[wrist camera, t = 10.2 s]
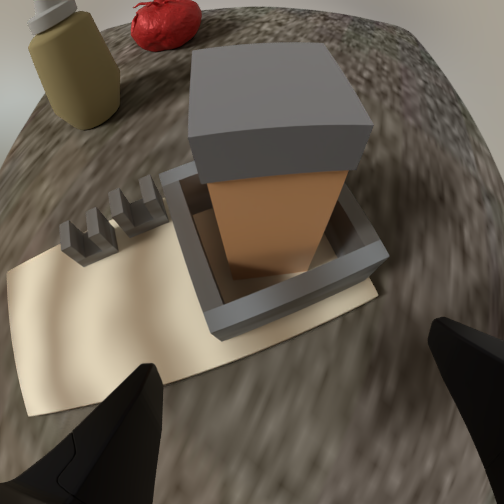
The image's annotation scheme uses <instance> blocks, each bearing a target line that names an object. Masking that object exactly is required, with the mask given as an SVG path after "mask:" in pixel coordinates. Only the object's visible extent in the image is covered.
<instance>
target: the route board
mask: <svg viewBox="0 0 504 504" xmlns="http://www.w3.org/2000/svg"><path fill="white" fill-rule="evenodd" d="M159 177H160V181H161V184H162V188H163V191H164V195H165V198H163V199H162V197H161V195H160V193H159V191H158V189H157V187H156V185H155V183H154V181H153V179H152V177H151V175H148V176H145V177H143V178H140V179H139V184H140V188H141V193H142V197H143V199H140V200H138V201H135V202H133V203H131V204H130V203H129V202H128V200H127V199H126V197H125V196H124V194H123V193H122V191H121V190H120V188H117V189H115V190H113V191H110V192H108V195H109V202H110V209H111V215H112V218H113V220H110V221H108V220H107V219H106V218H105V217H104V216H103V214H102V213H101V212H100V211H99V210H98V209H97V207H95V208H93V209H90V210H88V211H86V220H87V229H88V231H86V232H84V233H82V232H81V231H80V230H79V229H77V228H76V227H75V226H74V225H73V224H72V223H71V222H70V221H69V220H68V221H66V222H64V223H62V224H60V225H59V227H60V244H59V245H57V246H55V247H53V248H51V249H49V250H47V251H45V252H43V253H41V254H40V255H38V256H36V257H34V258H32V259H30V260H28V261H26V262H24V263H23V264H21V265H19V266H17V267H15V268H14V269H12V270H10V271H8V272H7V293H8V309H9V320H10V329H11V337H12V344H13V350H14V357H15V362H16V367H17V373H18V377H19V382H20V386H21V391H22V395H23V399H24V402H25V406H26V410H27V413H28V416H38V415H44V414H50V413H55V412H60V411H65V410H70V409H75V408H80V407H84V406H89V405H93V404H97V403H101V402H102V401H103V400H104V399H105V398H106V397H107V396H108V395H109V394H110V393H111V392H112V391H114V390H115V389H116V388H117V387H118V386H119V385H120V384H121V383H122V382H123V381H124V380H125V379H126V378H127V377H128V376H129V375H130V374H131V373H132V372H133V371H134V370H135V369H136V368H137V367H138V366H139V365H140V364H142V363H154V364H155V365H156V367H157V370H158V372H159V374H160V377H161V379H162V382H163V385H166V384H169V383H173V382H176V381H179V380H182V379H185V378H188V377H191V376H194V375H197V374H200V373H203V372H206V371H209V370H211V369H214V368H217V367H220V366H223V365H225V364H228V363H231V362H233V361H236V360H239V359H241V358H244V357H246V356H249V355H252V354H254V353H257V352H259V351H262V350H264V349H266V348H269V347H271V346H274V345H276V344H279V343H281V342H283V341H286V340H288V339H290V338H293V337H295V336H297V335H299V334H302V333H304V332H306V331H308V330H311V329H313V328H315V327H317V326H319V325H322V324H324V323H326V322H328V321H330V320H332V319H334V318H336V317H338V316H341V315H343V314H345V313H347V312H349V311H351V310H353V309H355V308H357V307H359V306H361V305H363V304H365V303H367V302H369V301H371V300H372V299H374V298H375V297H377V296H378V293H377V291H376V289H375V287H374V285H373V284H372V282H371V280H370V278H369V276H370V275H371V274H372V273H373V272H374V271H375V270H376V269H377V268H378V267H379V266H380V265H381V264H382V263H383V262H384V261H385V260H386V259H387V258H388V257H389V254H388V252H387V250H386V249H385V247H384V245H383V243H382V242H381V240H380V238H379V236H378V235H377V233H376V231H375V229H374V228H373V226H372V224H371V223H370V221H369V219H368V218H367V216H366V214H365V213H364V211H363V210H362V208H361V206H360V205H359V203H358V202H357V200H356V198H355V197H354V195H353V194H352V192H351V191H350V189H349V188H348V186H347V185H346V183H345V182H344V184H343V187H342V189H341V192H340V194H339V197H338V199H337V202H336V204H335V207H334V209H333V212H332V214H331V216H330V219H329V221H328V224H327V226H326V228H325V231H324V233H323V236H322V238H321V240H320V243H319V245H318V247H317V250H316V252H315V254H314V256H313V259H312V261H311V263H310V266H309V268H308V270H307V271H305V272H297V273H289V274H282V275H274V276H266V277H258V278H249V279H241V280H233V278H232V274H231V270H230V267H229V263H228V260H227V256H226V253H225V249H224V245H223V242H222V238H221V234H220V231H219V227H218V223H217V220H216V216H215V212H214V208H213V205H212V201H211V197H210V193H209V190H208V186H207V183H206V184H201V182H200V179H199V175H198V172H197V168H196V165H195V161H192V162H190V163H187V164H184V165H181V166H179V167H176V168H173V169H171V170H168V171H166V172H163V173H160V174H159Z"/></svg>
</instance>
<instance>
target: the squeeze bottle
mask: <svg viewBox="0 0 504 504" xmlns="http://www.w3.org/2000/svg"><path fill="white" fill-rule="evenodd" d="M34 4H35V13H36V15H35V16H34V17H32V18H31V19H30V20H29V21H28V22H27V24H28V26H29V28H30V30H31V32H32V34H33V35H36V34H37V35H36V36H35V37H34V38H33V39H32V41H31V42H30V45H29V47H28V49H29V52H30V55H31V57H32V60H33V63H34V65H35V68H36V70H37V73H38V75H39V78H40V80H41V83H42V85H43V87H44V90H45V92H46V95H47V97H48V99H49V101H50V104H51V106H52V108H53V110H54V113H55V114H56V115H58V116H59V117H60V118H62V119H63V120H65V121H66V122H68V123H69V124H71V125H72V126H73V127H75V128H76V129H80V130H86V129H91V128H93V127H96V126H98V125H100V124H102V123H103V122H105V121H106V120H108V119H109V118H110V117H111V116H112V115H113V114H114V113H115V112H116V111H117V109H118V107H119V105H120V70H119V68H118V66H117V64H116V63H115V61H114V59H113V57H112V55H111V53H110V51H109V49H108V47H107V45H106V43H105V41H104V40H103V38H102V36H101V34H100V32H99V30H98V28H97V26H96V24H95V22H94V20H93V18H92V16H91V14H90V13H88V12H84V11H78V12H75V11H76V10H77V6H76V3H75V0H34Z"/></svg>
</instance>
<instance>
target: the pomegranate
mask: <svg viewBox="0 0 504 504" xmlns="http://www.w3.org/2000/svg"><path fill="white" fill-rule="evenodd" d="M139 5H146V6H144V7H143V8H141V9H139V10H138V11H137V12H136V16H135V17H134V19H133V21H132V26H131V36H132V37H133V39H134V40H135V41H136V43H137V44H138V45H139V46H140V47H141V48H143V49H145V50H148V51H152V52H157V51H163V50H171V49H175V48H177V47H180V46H182V45H183V44H185V43H186V42H187V41H189V40H190V39H192V38H193V37H194V36H195V34H196V33H197V31H198V29H199V27H200V23H201V18H202V13H201V10H200V8H199V6H198V4H197V3H196V2H194V1H192V0H154V1H153V2H145V3H143V2H142V3H138V4H137V5H136V6H135V7H133V8H136V7H137V6H139Z"/></svg>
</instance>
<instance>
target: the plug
mask: <svg viewBox="0 0 504 504" xmlns="http://www.w3.org/2000/svg"><path fill="white" fill-rule="evenodd" d="M373 126H374V125H373V123H372V121H371V119H370V117H369V116H368V114H367V112H366V110H365V108H364V107H363V105H362V103H361V101H360V100H359V98H358V96H357V94H356V93H355V91H354V89H353V88H352V86H351V84H350V83H349V81H348V80H347V78H346V76H345V75H344V73H343V72H342V70H341V69H340V67H339V65H338V64H337V62H336V61H335V59H334V58H333V56H332V55H331V54H330V52H329V51H328V49H327V48H326V46H325V45H324V44H323V43H258V44H244V45H233V46H223V47H215V48H207V49H200V50H194V51H192V62H191V78H190V95H189V119H188V140H189V143H190V147H191V150H192V154H193V158H194V161H195V165H196V168H197V172H198V175H199V179H200V182H201V184H206V183H207V186H208V190H209V193H210V197H211V201H212V205H213V208H214V212H215V216H216V220H217V223H218V227H219V231H220V234H221V238H222V242H223V245H224V249H225V253H226V256H227V260H228V263H229V267H230V270H231V274H232V278H233V280H241V279H249V278H258V277H266V276H274V275H282V274H289V273H297V272H305V271H307V270H308V268H309V266H310V263H311V261H312V259H313V256H314V254H315V252H316V250H317V247H318V245H319V243H320V240H321V238H322V236H323V233H324V231H325V228H326V226H327V224H328V221H329V219H330V216H331V214H332V212H333V209H334V207H335V204H336V202H337V199H338V197H339V194H340V192H341V189H342V187H343V184H344V181H345V179H346V176H347V174H348V171H349V170H356V169H357V166H358V164H359V161H360V159H361V156H362V154H363V151H364V149H365V146H366V144H367V141H368V139H369V136H370V133H371V131H372V128H373Z"/></svg>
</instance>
